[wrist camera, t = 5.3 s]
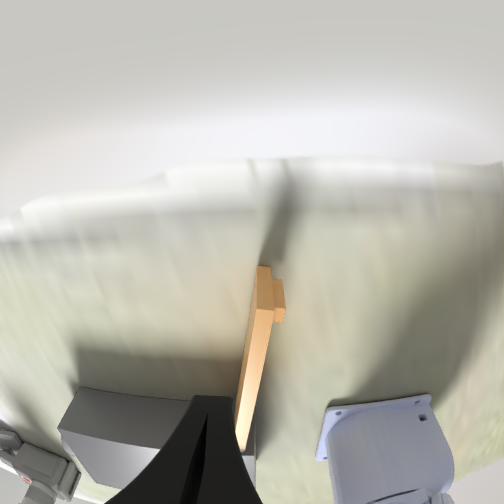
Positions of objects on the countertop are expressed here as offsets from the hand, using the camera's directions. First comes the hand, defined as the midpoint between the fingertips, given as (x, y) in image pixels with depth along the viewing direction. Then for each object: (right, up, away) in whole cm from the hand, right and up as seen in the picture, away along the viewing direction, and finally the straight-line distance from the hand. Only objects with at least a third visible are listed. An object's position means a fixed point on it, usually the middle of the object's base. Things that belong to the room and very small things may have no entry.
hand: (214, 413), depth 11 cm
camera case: (-6, -10, +14) cm, 18 cm away
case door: (+2, 0, +10) cm, 10 cm away
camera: (-28, -21, +19) cm, 40 cm away
